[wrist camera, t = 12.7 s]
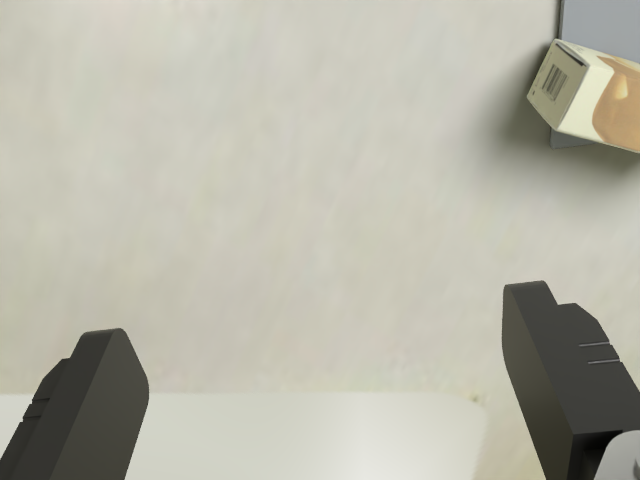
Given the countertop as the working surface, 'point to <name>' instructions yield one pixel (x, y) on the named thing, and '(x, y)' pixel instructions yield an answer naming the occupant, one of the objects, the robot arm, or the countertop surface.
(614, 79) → the skincare box
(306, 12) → the countertop surface
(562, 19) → the mat
